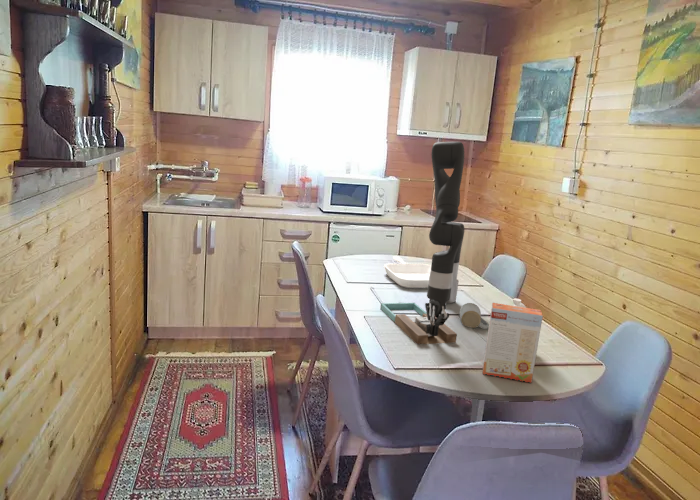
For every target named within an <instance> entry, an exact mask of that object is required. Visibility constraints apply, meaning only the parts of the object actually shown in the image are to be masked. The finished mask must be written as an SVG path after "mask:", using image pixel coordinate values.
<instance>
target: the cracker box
mask: <svg viewBox="0 0 700 500" xmlns="http://www.w3.org/2000/svg"><path fill="white" fill-rule="evenodd" d="M543 317H544V315H543V312H542V310H541V309H536V308H530V307H526V308H524V307H517V306H513V305H509V304H504V303H498V302H492V304H491V310H490V317H489V323H488V324H489V326H488V328H487V329H488V330H487V338H486V342H485V343H486V344H485V351H484V355H483V356H484V357H483V363H482V364H483V365H482V375H485V374H487V375H486V376H490V375H494V376H493V377H496V376H499V377H498V378H501V377H504V378H503V379H507V378H510V379H509V380H512V379H515V380H514V381H518V380H520V382H523V381H525V382H524V383H528V382H530V383H529V384H531V383H532V381H533V375H534V369H535V363H536V357H537V352H538V346H539V341H540V335H541V330H542V323H543Z"/></svg>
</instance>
